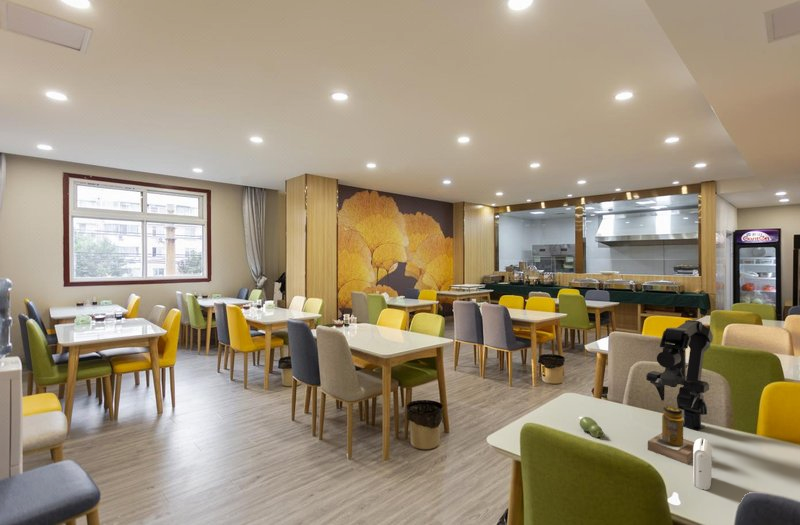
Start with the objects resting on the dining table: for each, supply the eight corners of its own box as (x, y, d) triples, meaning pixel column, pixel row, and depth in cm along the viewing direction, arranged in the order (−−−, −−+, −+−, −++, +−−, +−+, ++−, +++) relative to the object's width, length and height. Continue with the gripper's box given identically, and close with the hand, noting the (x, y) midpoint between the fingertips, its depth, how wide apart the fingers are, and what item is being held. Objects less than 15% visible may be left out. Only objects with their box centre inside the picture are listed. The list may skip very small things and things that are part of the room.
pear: (589, 413, 158) (608, 427, 149) (587, 425, 159) (606, 440, 150) (577, 415, 157) (595, 429, 147) (575, 427, 158) (594, 442, 148)
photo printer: (710, 492, 114) (710, 449, 114) (692, 486, 117) (692, 445, 117) (712, 477, 122) (712, 437, 122) (694, 472, 125) (694, 433, 125)
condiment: (688, 444, 137) (688, 409, 137) (677, 450, 132) (677, 415, 132) (664, 436, 143) (664, 403, 143) (653, 442, 138) (653, 408, 138)
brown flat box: (663, 442, 146) (663, 432, 146) (701, 456, 136) (702, 444, 136) (647, 452, 140) (647, 440, 140) (687, 467, 130) (687, 454, 130)
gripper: (639, 361, 151) (639, 401, 151) (697, 372, 136) (697, 417, 136) (652, 356, 157) (652, 395, 158) (709, 366, 142) (709, 409, 142)
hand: (676, 404), depth 148 cm, fingers open, 9 cm apart
